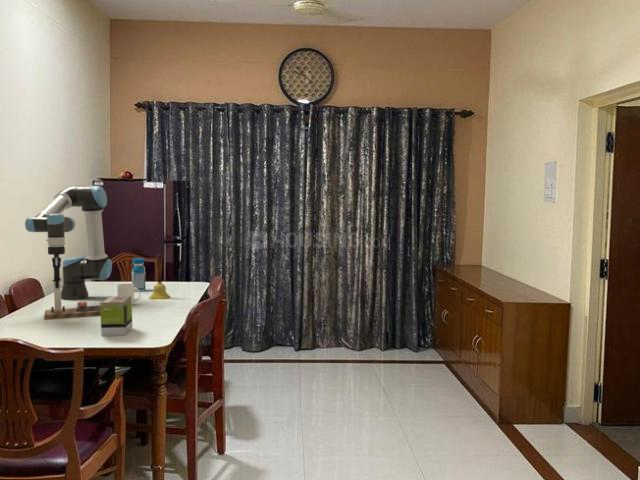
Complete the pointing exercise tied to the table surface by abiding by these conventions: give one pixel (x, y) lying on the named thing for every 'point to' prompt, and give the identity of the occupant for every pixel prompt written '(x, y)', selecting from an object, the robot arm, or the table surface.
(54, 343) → the table surface
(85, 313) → the control board
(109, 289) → the table surface
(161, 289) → the handbell
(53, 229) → the robot arm
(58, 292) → the toggle lever
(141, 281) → the beverage bottle
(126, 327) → the tea box
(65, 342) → the table surface
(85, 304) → the push button
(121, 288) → the mug
